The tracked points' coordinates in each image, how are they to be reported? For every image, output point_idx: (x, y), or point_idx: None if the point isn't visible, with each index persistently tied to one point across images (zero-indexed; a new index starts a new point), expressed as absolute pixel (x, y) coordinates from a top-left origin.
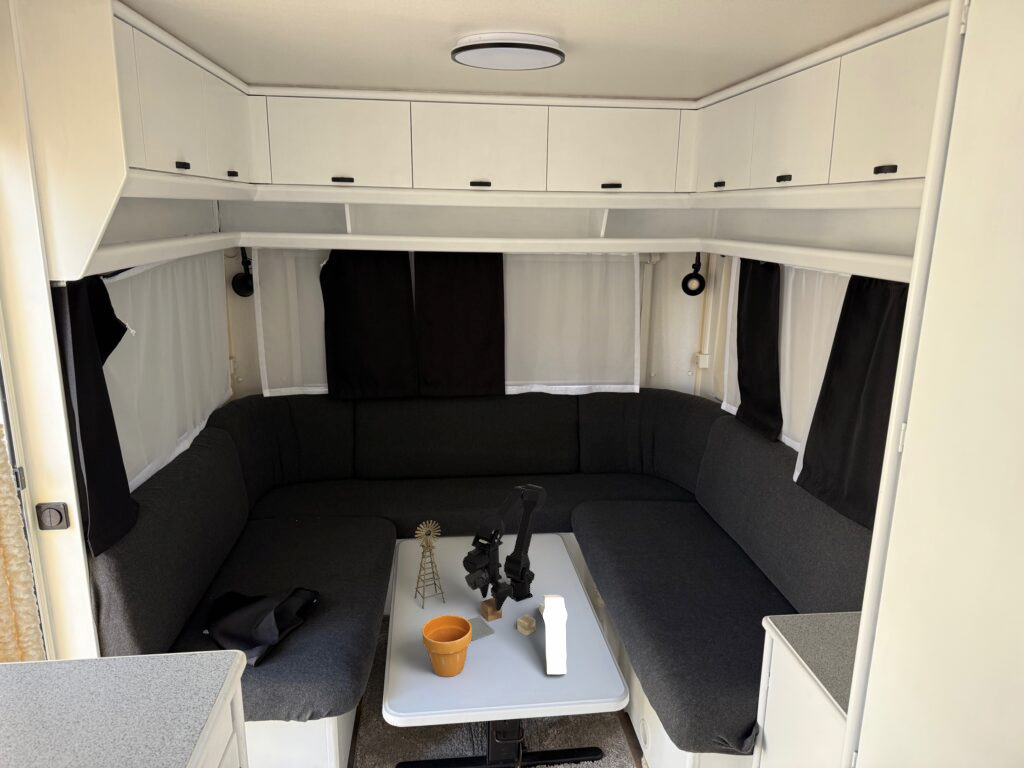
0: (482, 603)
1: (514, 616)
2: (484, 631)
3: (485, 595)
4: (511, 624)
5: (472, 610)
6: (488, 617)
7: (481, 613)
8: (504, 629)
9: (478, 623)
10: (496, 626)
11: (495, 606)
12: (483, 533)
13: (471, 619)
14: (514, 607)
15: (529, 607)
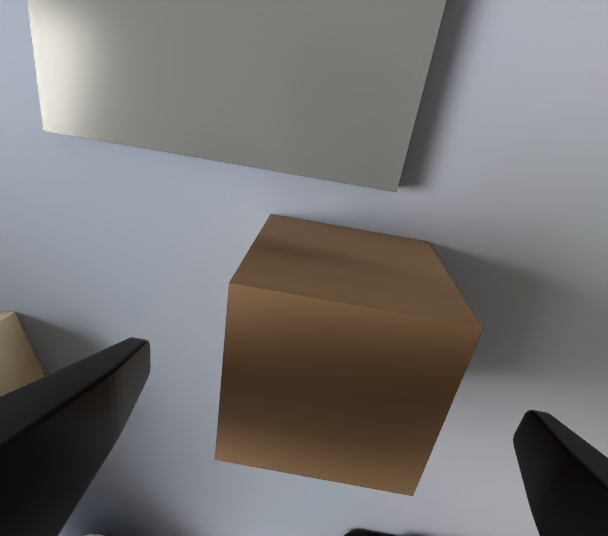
0: (417, 314)
1: (205, 414)
2: (86, 26)
3: (532, 465)
4: (119, 334)
5: (568, 231)
6: (261, 234)
7: (420, 248)
8: (80, 247)
9: (278, 83)
10: (160, 225)
11: (221, 386)
12: None
13: (413, 69)
14: (306, 480)
15: (238, 528)
